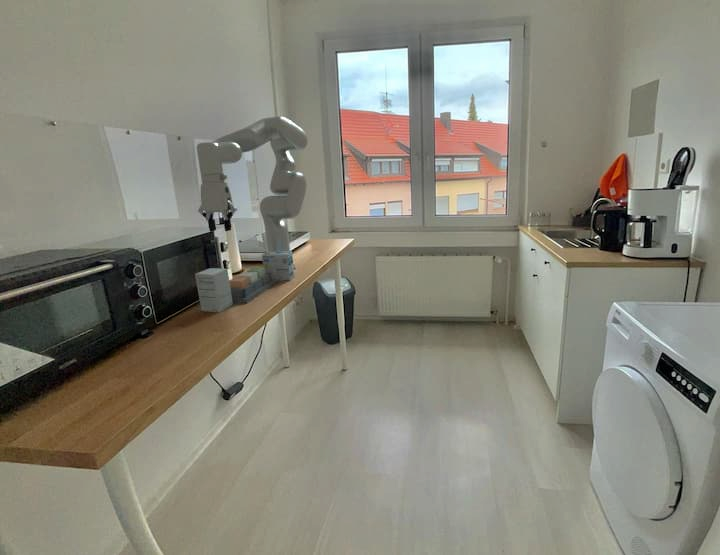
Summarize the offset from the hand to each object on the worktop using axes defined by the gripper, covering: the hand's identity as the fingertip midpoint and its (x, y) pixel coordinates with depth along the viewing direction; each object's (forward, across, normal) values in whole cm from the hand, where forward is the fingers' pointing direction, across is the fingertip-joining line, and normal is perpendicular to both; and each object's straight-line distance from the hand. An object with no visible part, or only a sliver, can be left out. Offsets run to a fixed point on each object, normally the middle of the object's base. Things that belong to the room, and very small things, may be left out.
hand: (220, 230), depth 154 cm
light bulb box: (+23, -14, -15) cm, 31 cm away
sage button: (+20, -10, -4) cm, 22 cm away
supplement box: (+23, -7, +20) cm, 31 cm away
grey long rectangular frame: (+22, -10, +3) cm, 25 cm away
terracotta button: (+20, -10, +10) cm, 24 cm away
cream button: (+20, -10, +3) cm, 22 cm away
